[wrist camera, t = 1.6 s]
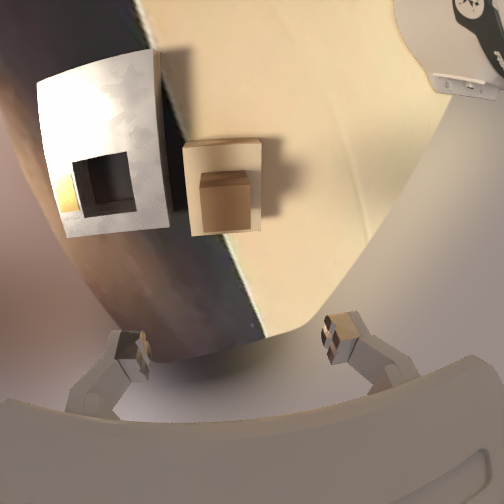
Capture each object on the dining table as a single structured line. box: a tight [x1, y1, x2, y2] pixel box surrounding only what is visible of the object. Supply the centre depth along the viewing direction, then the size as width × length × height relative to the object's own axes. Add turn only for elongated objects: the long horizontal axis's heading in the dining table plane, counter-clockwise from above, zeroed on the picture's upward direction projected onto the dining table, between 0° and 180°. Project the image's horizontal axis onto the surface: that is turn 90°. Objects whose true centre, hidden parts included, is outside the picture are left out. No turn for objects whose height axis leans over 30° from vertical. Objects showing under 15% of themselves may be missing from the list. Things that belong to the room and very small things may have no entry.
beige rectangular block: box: [182, 138, 262, 236], centre depth 27 cm, size 7×9×3 cm
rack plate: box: [37, 49, 174, 238], centre depth 22 cm, size 12×17×4 cm
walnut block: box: [199, 170, 251, 233], centre depth 24 cm, size 4×4×4 cm
